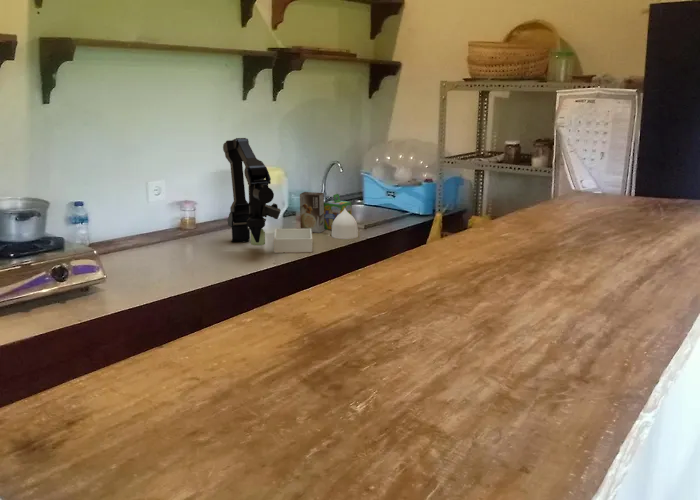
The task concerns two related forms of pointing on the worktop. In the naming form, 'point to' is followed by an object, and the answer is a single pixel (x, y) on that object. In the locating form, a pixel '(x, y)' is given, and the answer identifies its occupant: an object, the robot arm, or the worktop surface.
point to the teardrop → (344, 226)
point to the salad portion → (261, 240)
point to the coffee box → (312, 211)
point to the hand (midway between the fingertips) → (257, 240)
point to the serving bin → (292, 240)
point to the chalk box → (334, 210)
